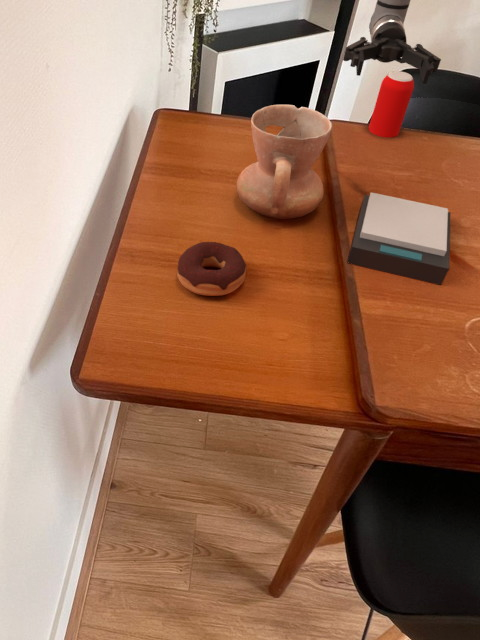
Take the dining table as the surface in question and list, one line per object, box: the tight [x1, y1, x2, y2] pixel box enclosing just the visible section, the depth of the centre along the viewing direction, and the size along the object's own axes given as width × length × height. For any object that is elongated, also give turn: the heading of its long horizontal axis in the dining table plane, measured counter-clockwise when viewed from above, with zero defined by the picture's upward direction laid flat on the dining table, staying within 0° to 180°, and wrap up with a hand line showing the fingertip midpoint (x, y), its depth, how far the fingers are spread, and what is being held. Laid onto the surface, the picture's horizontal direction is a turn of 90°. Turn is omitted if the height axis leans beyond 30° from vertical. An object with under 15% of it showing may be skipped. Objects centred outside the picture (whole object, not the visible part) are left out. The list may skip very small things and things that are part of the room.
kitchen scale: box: [346, 191, 452, 286], centre depth 83 cm, size 16×14×4 cm
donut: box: [176, 241, 247, 297], centre depth 75 cm, size 10×10×4 cm
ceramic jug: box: [236, 104, 333, 220], centre depth 85 cm, size 18×14×14 cm
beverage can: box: [368, 70, 415, 138], centre depth 105 cm, size 6×6×12 cm
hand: (393, 72), depth 109 cm, fingers open, 13 cm apart
